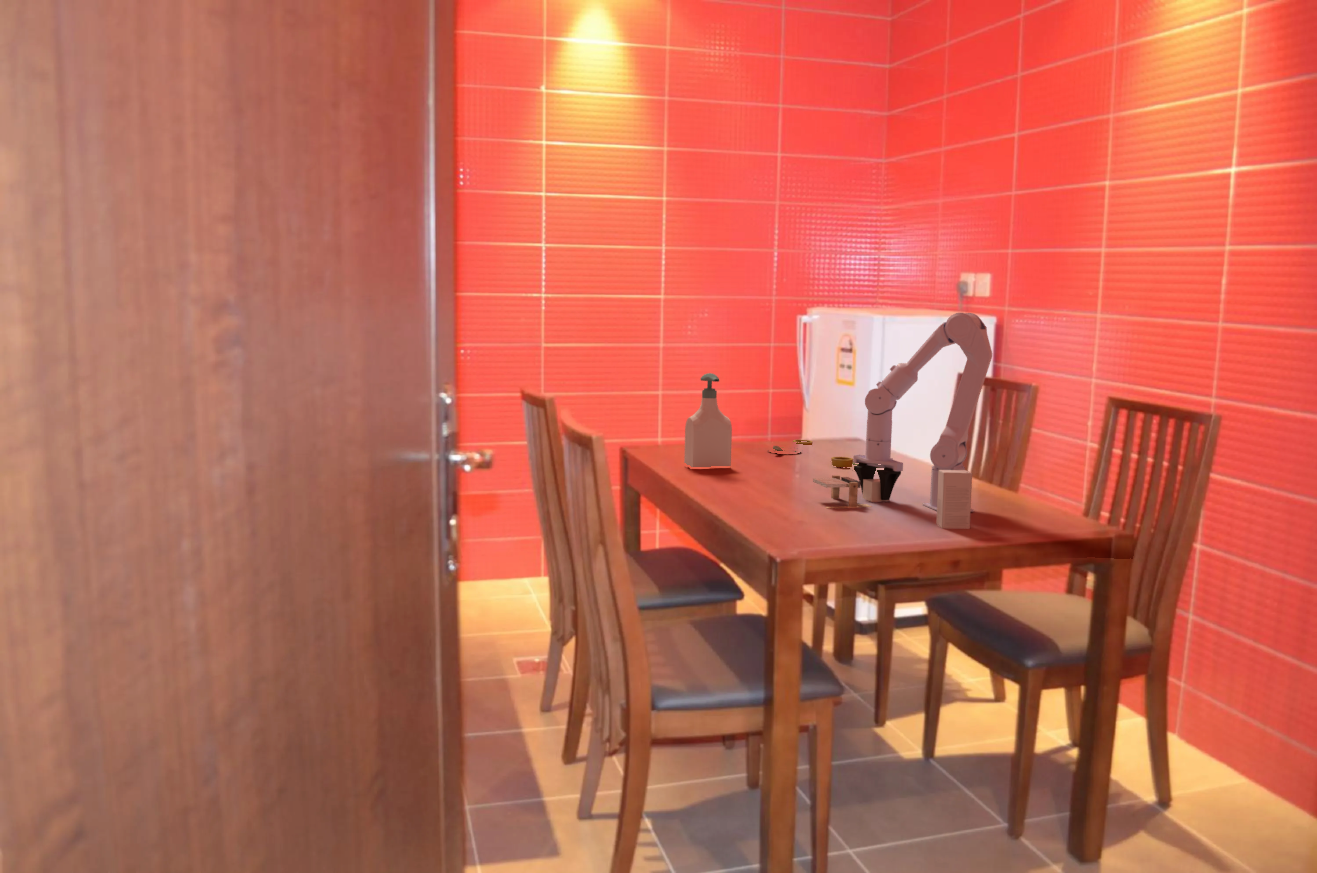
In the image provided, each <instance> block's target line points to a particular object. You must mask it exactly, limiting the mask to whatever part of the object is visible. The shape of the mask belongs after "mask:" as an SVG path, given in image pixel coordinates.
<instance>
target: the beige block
mask: <svg viewBox="0 0 1317 873" xmlns="http://www.w3.org/2000/svg"><path fill="white" fill-rule="evenodd" d="M862 499H864V500H866V501H868V502H870V503H877V502H881V503H882V502H890V500H881V486H880V479H879V478H873V479H863V495H862Z"/></svg>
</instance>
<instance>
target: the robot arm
mask: <svg viewBox="0 0 1317 873" xmlns="http://www.w3.org/2000/svg"><path fill="white" fill-rule="evenodd" d="M955 344H957V346H959V348H960V349H961V351H962V352H963V354H964V355H965V357H966V362H965V365H964V367H963V368H964V369H963V372H962V375H961V378H960V381H959V384H958V387H957V390H956V393H955V396H954V399H953V401H952V402H953V403H952V406H951V409H950V412H949V414H948V418H947V421H946V425H945V427H944V428H943V430H942V432H941V433H940V436H939V439H938V441H937V442H936V443H935V444H934V445H933V446H932V448H931V449H930V454H929V457H930V461H931V463H932V464H933V465H932V466H931V472H930V473H931V476H930V495H929V496H930V497H929V502H923V503H922V504H921V505H922V506H923V507H926V508H929V509H932V510H934V511H937V496H938V471H939V470H966V468H965V465H964V464H963V463H964V461H965V460H966V458H967V456H968V447H967V443H968V440H969V429H970V426H971V423H972V420H973V416H974V413H975V410H976V408H977V405H978V401H979V398H980V395H981V392H982V389H983V385H984V384H985V380H986V377H987V373H988V371H989V368H990V365H991V362H992V357H993V351H992V347H991V343H990V340H989V336H988V329H987V326H986V324H985V323H984V322H983V320H982V319H981V318H980V316H978V315H977V314H975V313H972V312H956V313H953V314H951V315H950V316H949V317H948V319H947V320H946V321H945V322H943V323H942V324H940V325H939V326H938V327H937V328H936V329H934V331H933V333H931V335H930V336H929V337H928V338H927V340H926V341H925V342H924V343H923V344H922V345H921V346H920V347H919V348H918V350H917V351H916V352H915V353H914V354H913V356H911V358H910V359H909V360H908V361H907V362H900V363H898V364H897V365H892V366H891V367H890V368H889V371H890V372H889V373H888V375H887V376H885V378H883V380H881V381H878V382H877V383H876V386H877V387H876V388H872V389H870V390H869V391H868V393H867V394H866V396H865V398H864V406H865V408H866V409H867V419H866V436H865V439H866V440H865V455H863V454H853V458H852V459H853V463H859V465H858V466H854V470H855V471H854V472H855V473H856V475H857V478H858V481H860V488H861V493H862V496H863V479H875V478H874V477H875V475H874V474H875V471H876V468H877V467H880V468H884V470H877V472H878V475H877V476H878V479H880V486H881V500H889V501H890V499H891V496H892V492H893V490H894V487H895V484H896V483H897V481H898V479H899V477H900V476H901V474H902V472H904V462H901V461H898V460H895V459H893V457H891V454H892V453H891V451H892V432H893V430H892V429H893V410H894V409H895V408H896V406H897V403H898V401H900V399H902V397H903V396H904V395H905V394H906V393H907V392H908V391H909V390H910V389H911V388H912V387H913V386H914V384H916V383H917V381H918V380H919V379H918V374H919V372H920V370H921V369H922V368H924V366H925V365H927V363H929V362H930V361H931V360H932V359H933V357H935V356H936V355H937V354H938V353H939V352H940V351H941V350H942V349H943V348H946V347H948V346H951V345H955ZM878 464H881V465H878ZM971 491H972V489H971ZM973 512H975V510H974V509H973V508H971V510H970V513H973Z"/></svg>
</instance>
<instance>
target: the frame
mask: <svg viewBox="0 0 1317 873" xmlns="http://www.w3.org/2000/svg"><path fill="white" fill-rule="evenodd" d="M831 478H836V479H839V480H841V475H838V474H837V475H836V474H834V475H831ZM841 481H842V480H841ZM844 482H845V481H844ZM846 483H847V482H846ZM830 489H831V490H830V492H831V494H830V498H831V499H832V498H833V500H837V498H839V499H840V489H841V487H836V488H830ZM858 491H859V488H858V483H857V482H850V483H849V487H848V505H847V506H844V505H843V506H825V507H824V508H825V509H826V510H830V509H833V508H835V509H856V508H857V509H858V508H872V507H873V506H871V505H870V504H867V503H865V504H864V503H858Z"/></svg>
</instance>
